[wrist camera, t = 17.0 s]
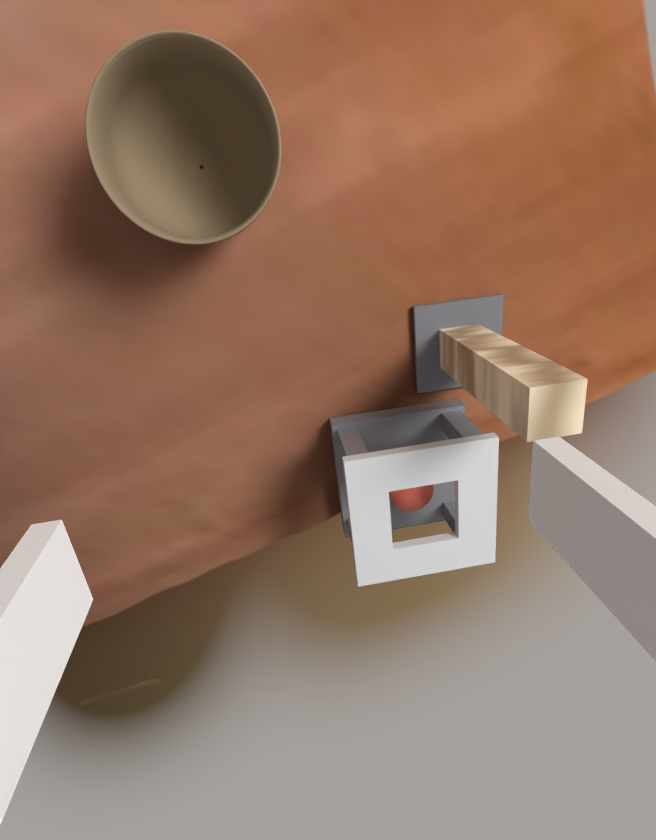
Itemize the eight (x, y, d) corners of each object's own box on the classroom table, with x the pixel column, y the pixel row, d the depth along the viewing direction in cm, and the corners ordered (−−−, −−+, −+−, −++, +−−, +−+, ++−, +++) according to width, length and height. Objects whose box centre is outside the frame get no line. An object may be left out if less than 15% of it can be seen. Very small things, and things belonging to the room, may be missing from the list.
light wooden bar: (440, 367, 50) (526, 442, 34) (439, 329, 49) (529, 387, 32) (477, 361, 50) (581, 433, 34) (478, 323, 49) (587, 378, 32)
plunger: (381, 487, 55) (392, 514, 50) (378, 453, 53) (390, 477, 48) (418, 481, 55) (434, 507, 50) (417, 447, 54) (433, 470, 49)
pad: (416, 391, 52) (418, 393, 51) (412, 306, 48) (414, 307, 47) (498, 379, 52) (500, 380, 52) (500, 293, 49) (503, 294, 48)
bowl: (280, 79, 39) (285, 38, 30) (274, 245, 44) (278, 253, 35) (116, 59, 38) (69, 9, 28) (129, 234, 42) (93, 239, 33)
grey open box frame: (342, 527, 57) (358, 586, 48) (329, 418, 51) (343, 461, 42) (458, 507, 58) (495, 562, 49) (457, 398, 52) (498, 437, 43)
